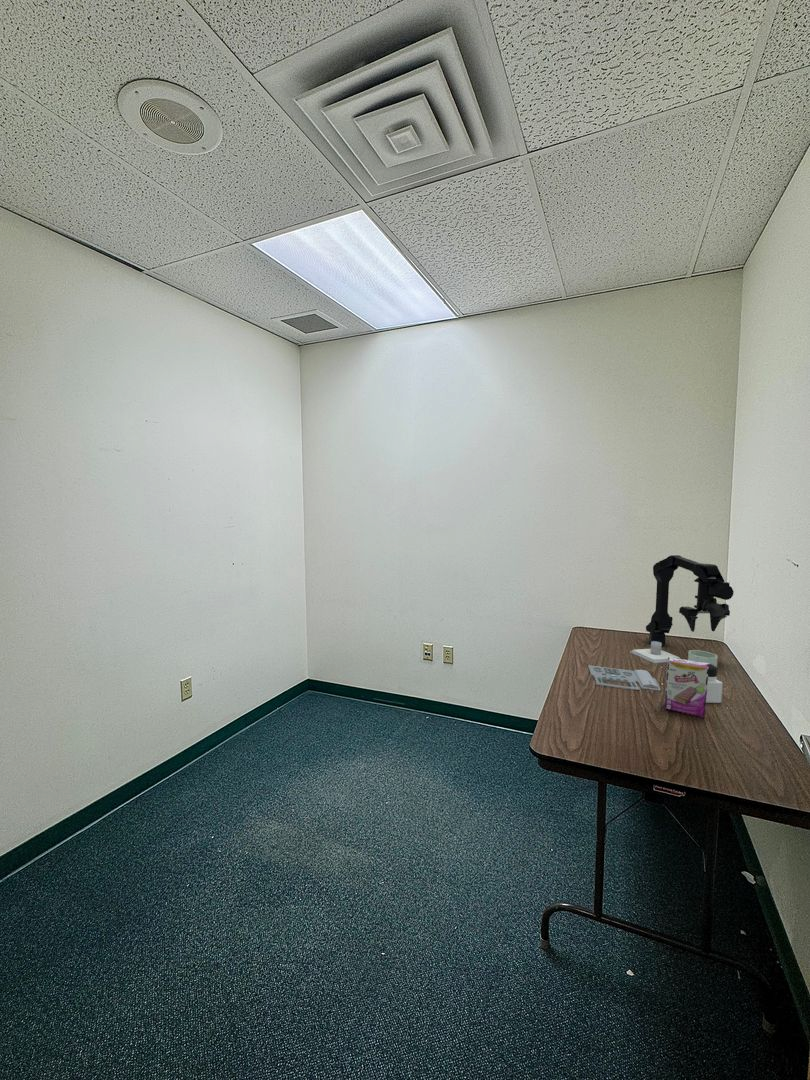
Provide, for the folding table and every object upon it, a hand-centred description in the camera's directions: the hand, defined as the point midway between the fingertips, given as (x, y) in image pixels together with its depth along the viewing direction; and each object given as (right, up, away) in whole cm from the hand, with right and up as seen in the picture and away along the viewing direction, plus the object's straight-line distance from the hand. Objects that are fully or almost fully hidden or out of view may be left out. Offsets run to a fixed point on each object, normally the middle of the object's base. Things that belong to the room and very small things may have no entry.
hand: (702, 631), depth 186 cm
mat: (-14, -13, +9) cm, 22 cm away
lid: (-14, -13, +9) cm, 21 cm away
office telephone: (-41, -16, -17) cm, 47 cm away
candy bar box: (-35, -17, -43) cm, 58 cm away
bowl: (-1, -14, -1) cm, 14 cm away
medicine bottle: (-21, -17, -33) cm, 43 cm away
